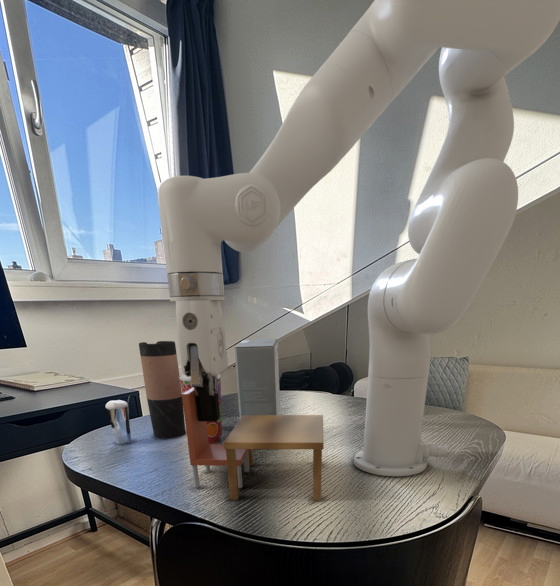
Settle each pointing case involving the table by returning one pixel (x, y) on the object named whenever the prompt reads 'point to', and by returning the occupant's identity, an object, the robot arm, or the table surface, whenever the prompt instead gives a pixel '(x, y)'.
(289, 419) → the mini table
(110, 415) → the milkshake
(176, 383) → the travel mug
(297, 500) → the table surface
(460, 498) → the table surface
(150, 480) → the table surface
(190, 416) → the chair
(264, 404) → the hard drive box
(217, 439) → the smoothie
